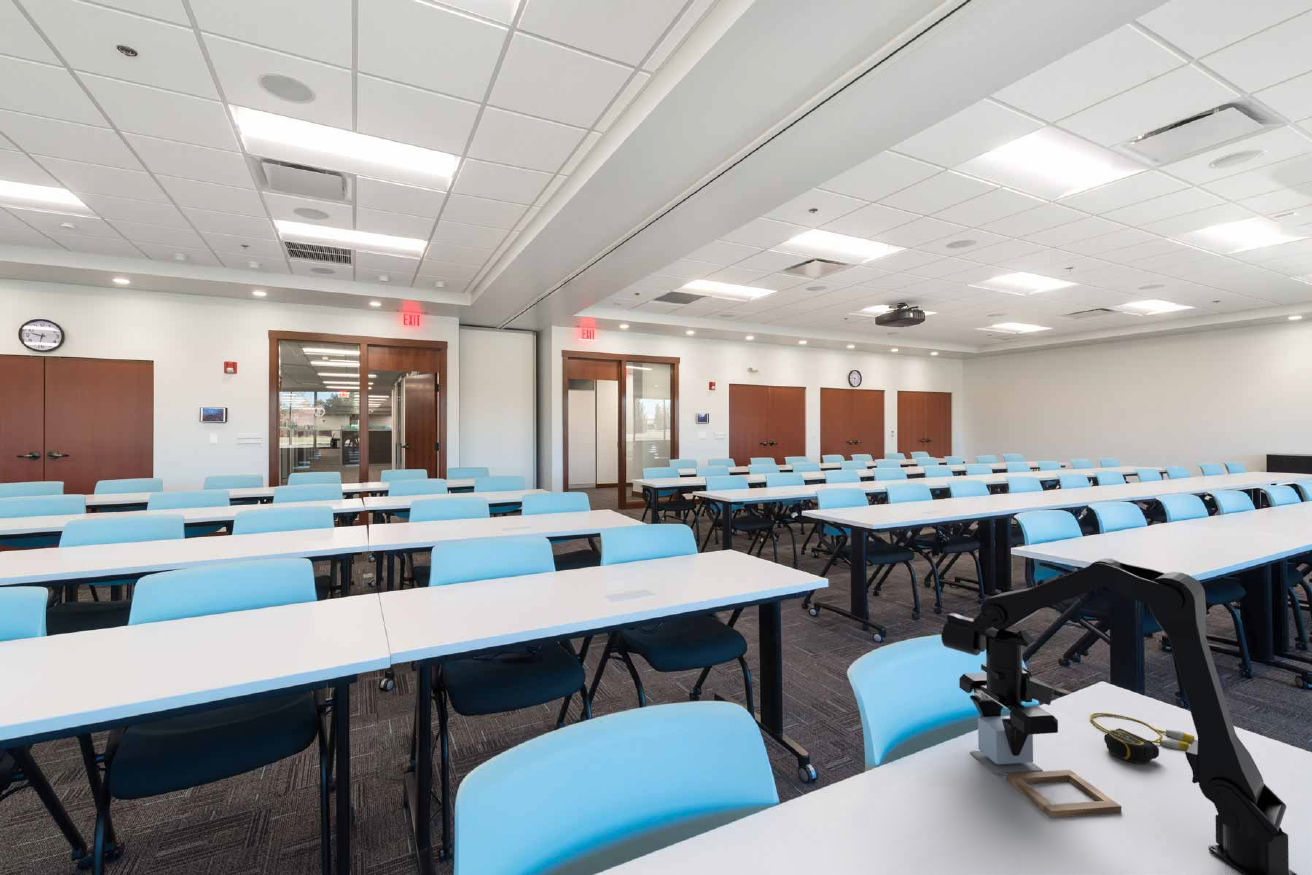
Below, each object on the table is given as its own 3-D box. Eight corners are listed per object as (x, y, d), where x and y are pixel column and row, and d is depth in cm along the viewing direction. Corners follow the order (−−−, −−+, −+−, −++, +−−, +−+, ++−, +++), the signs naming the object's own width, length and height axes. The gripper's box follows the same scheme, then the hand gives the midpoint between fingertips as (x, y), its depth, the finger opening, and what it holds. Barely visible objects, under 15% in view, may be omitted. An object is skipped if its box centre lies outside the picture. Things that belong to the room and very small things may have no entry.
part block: (1033, 761, 102) (1032, 728, 102) (996, 764, 101) (996, 730, 101) (1013, 746, 107) (1012, 715, 107) (978, 748, 106) (978, 717, 106)
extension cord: (1169, 762, 104) (1169, 751, 104) (1077, 723, 119) (1077, 714, 119) (1204, 748, 109) (1204, 737, 109) (1112, 712, 124) (1112, 703, 124)
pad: (1042, 771, 101) (1042, 769, 101) (995, 774, 100) (995, 772, 100) (1014, 750, 108) (1014, 748, 108) (970, 752, 107) (970, 751, 107)
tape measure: (1161, 763, 103) (1161, 742, 103) (1136, 770, 101) (1136, 749, 101) (1121, 744, 110) (1121, 724, 110) (1096, 750, 108) (1096, 730, 108)
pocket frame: (1121, 812, 90) (1121, 805, 90) (1051, 817, 89) (1051, 811, 89) (1070, 775, 100) (1070, 769, 100) (1006, 779, 99) (1006, 773, 99)
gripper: (1087, 682, 96) (1088, 774, 95) (1009, 642, 114) (1010, 719, 114) (1025, 685, 95) (1027, 778, 94) (957, 645, 113) (958, 722, 113)
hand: (1005, 747), depth 104 cm, fingers closed on part block, 5 cm apart
